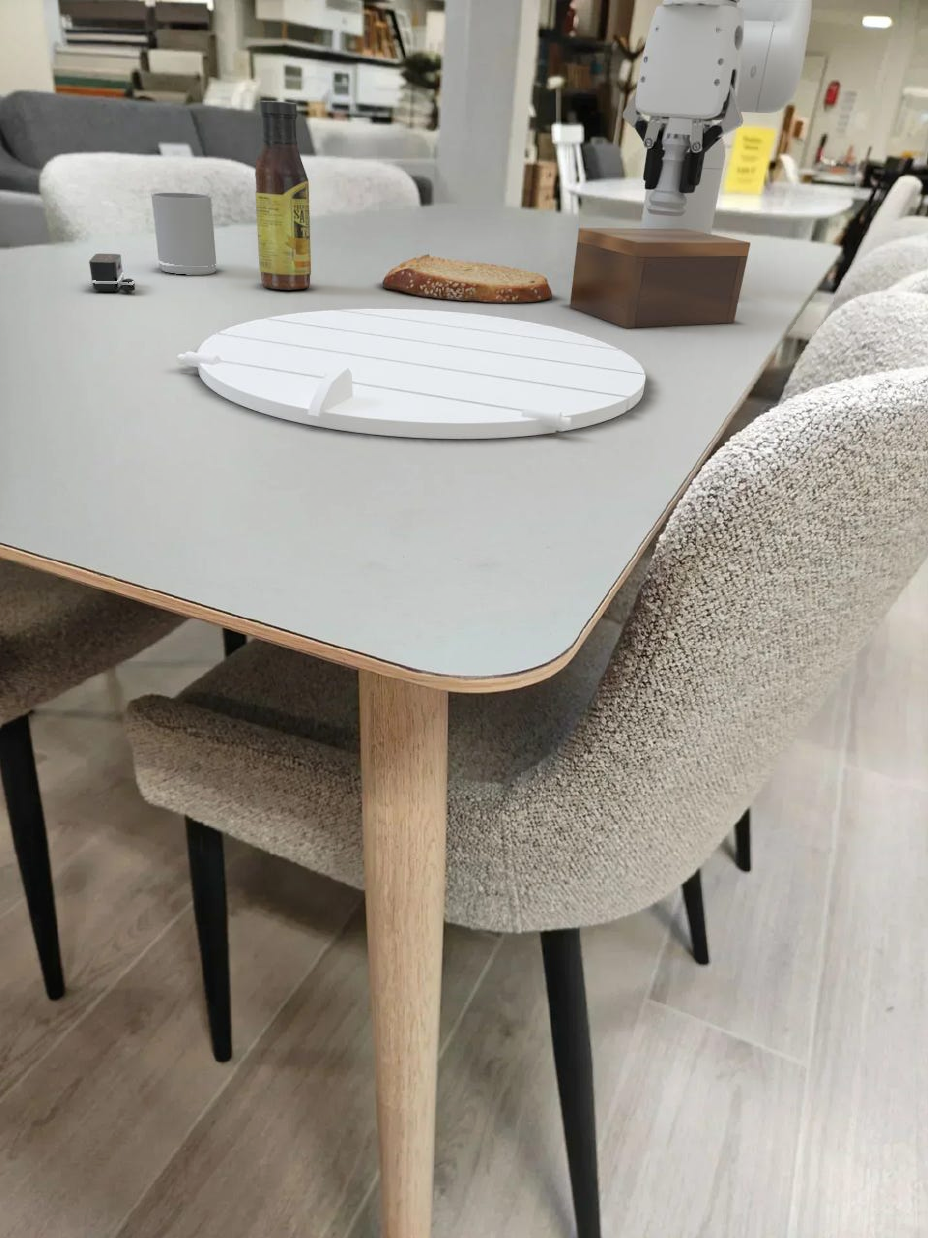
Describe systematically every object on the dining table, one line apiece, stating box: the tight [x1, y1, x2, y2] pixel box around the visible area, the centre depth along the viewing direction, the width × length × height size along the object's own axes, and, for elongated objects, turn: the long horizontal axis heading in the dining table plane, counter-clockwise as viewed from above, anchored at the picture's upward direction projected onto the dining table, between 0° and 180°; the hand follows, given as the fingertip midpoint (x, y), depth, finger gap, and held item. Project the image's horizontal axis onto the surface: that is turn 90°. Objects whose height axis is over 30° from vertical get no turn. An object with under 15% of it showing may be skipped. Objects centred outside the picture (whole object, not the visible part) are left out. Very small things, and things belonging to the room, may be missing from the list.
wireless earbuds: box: [88, 253, 136, 293], centre depth 99 cm, size 5×7×3 cm, turn 13°
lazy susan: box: [176, 308, 647, 440], centre depth 76 cm, size 40×39×3 cm
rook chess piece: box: [647, 133, 691, 216], centre depth 96 cm, size 4×4×8 cm
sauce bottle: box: [254, 100, 312, 291], centre depth 102 cm, size 6×6×20 cm
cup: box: [150, 192, 217, 276], centre depth 112 cm, size 7×10×9 cm
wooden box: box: [569, 227, 751, 329], centre depth 103 cm, size 12×16×9 cm
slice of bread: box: [381, 253, 553, 304], centre depth 110 cm, size 18×18×4 cm
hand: (669, 188), depth 97 cm, fingers closed on rook chess piece, 3 cm apart
